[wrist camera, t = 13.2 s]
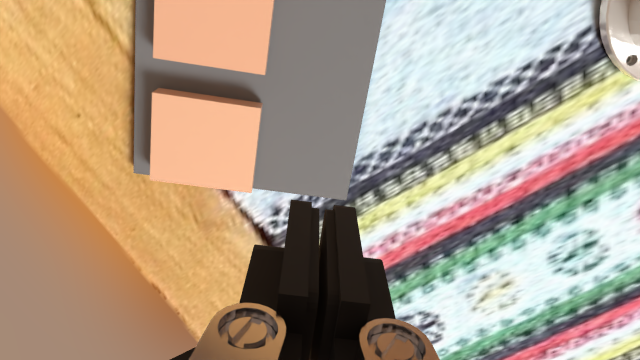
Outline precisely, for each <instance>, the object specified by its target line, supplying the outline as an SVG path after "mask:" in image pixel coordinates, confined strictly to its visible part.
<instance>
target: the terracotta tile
mask: <svg viewBox="0 0 640 360" xmlns="http://www.w3.org/2000/svg"><path fill="white" fill-rule="evenodd" d="M274 2H275V0H154V38H153V58H156V59H163V60H169V61H176V62H182V63H189V64H195V65H202V66H209V67H215V68H222V69H228V70H235V71H241V72H248V73H254V74H261V75H265V74H266V71H267V62H268V53H269V45H270V36H271V28H272V19H273V10H274Z"/></svg>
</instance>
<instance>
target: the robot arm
mask: <svg viewBox="0 0 640 360" xmlns="http://www.w3.org/2000/svg"><path fill="white" fill-rule="evenodd" d="M599 25H600V32H601V39H602V42H603V45H604V48H605V50H606V53H607V55H608V56H609V58H610V59H611V61H612V62H613V64H614V65H615V66H616V67H617V68H618V69H619V70H620V71H622V72H623V73H624V74H626V75H627V76H629V77H631V78H633V79H635V80H638V81H640V0H602V1H601V6H600V20H599ZM170 360H440V359H439V357H438V355H437V353H436V351H435V349H434V347H433V345H432V343H431V342H430V341H429V339H428V338H427V336H426V335H425V334H424V333H422V332H421V331H420V330H419V329H418V328H416V327H414V326H412V325H411V324H409V323H406V322H403V321H400V320H397V319H396V318H395V314H394V310H393V305H392V301H391V296H390V292H389V288H388V283H387V279H386V274H385V270H384V266H383V262H382V260H380V259H373V258H364V257H363V253H362V247H361V241H360V234H359V228H358V222H357V216H356V209H355V208H354V207H346V206H338V205H334V207H333V210H325V214H324V220H323V226H322V233H321V239H320V245H319V209H318V208H312V202H306V201H298V200H291V204H290V212H289V219H288V226H287V234H286V241H285V248H280V247H272V246H263V245H254V248H253V252H252V256H251V260H250V264H249V268H248V271H247V275H246V279H245V283H244V287H243V291H242V295H241V299H240V303H239V304H234V305H231V306H227V307H225V308H224V309H222V310H220V311H219V312H217V313H216V315H215V316H214V317H213V318H212V319H211V321H210V323H209V325H208V326H207V328H206V330H205V332H204V333H203V335H202V337H201V339H200V340H199V342H198V344H197V346H196V347H195V348H193V349H191V350H189V351H187V352H185V353H183V354H181V355H179V356H177V357H175V358H172V359H170Z"/></svg>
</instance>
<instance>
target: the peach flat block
mask: <svg viewBox="0 0 640 360" xmlns="http://www.w3.org/2000/svg"><path fill="white" fill-rule="evenodd" d="M262 105H263V103H259V102H252V101H245V100H239V99H232V98H225V97H218V96H211V95H205V94H198V93H191V92H184V91H177V90H171V89H164V88H158V89H156V90H155V91H154V92H152V114H151V153H150V180H154V181H161V182H169V183H177V184H185V185H193V186H201V187H209V188H217V189H224V190H232V191H240V192H248V193H251V192H252V188H253V183H254V174H255V165H256V157H257V148H258V139H259V131H260V122H261V114H262Z"/></svg>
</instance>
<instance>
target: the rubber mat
mask: <svg viewBox="0 0 640 360" xmlns="http://www.w3.org/2000/svg"><path fill="white" fill-rule="evenodd" d="M385 3H386V0H275V2H274V10H273V19H272V28H271V36H270V45H269V53H268V62H267V71H266V74H265V75H261V74H254V73H248V72H241V71H235V70H228V69H222V68H215V67H209V66H202V65H195V64H189V63H182V62H176V61H169V60H163V59H156V58H153V38H154V0H136V21H135V106H134V173H138V174H145V175H150V153H151V114H152V92H154V91H155V90H156V89H158V88H164V89H171V90H177V91H184V92H191V93H198V94H205V95H211V96H218V97H225V98H232V99H239V100H245V101H252V102H259V103H263V105H262V114H261V122H260V131H259V139H258V148H257V157H256V165H255V174H254V183H253V188H255V189H262V190H270V191H278V192H286V193H294V194H301V195H309V196H317V197H325V198H333V199H340V200H346V199H347V194H348V188H349V183H350V178H351V173H352V168H353V163H354V158H355V153H356V148H357V143H358V138H359V133H360V128H361V123H362V118H363V113H364V108H365V103H366V98H367V93H368V88H369V83H370V78H371V73H372V68H373V63H374V58H375V53H376V48H377V43H378V38H379V33H380V28H381V23H382V18H383V13H384V8H385Z"/></svg>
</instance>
